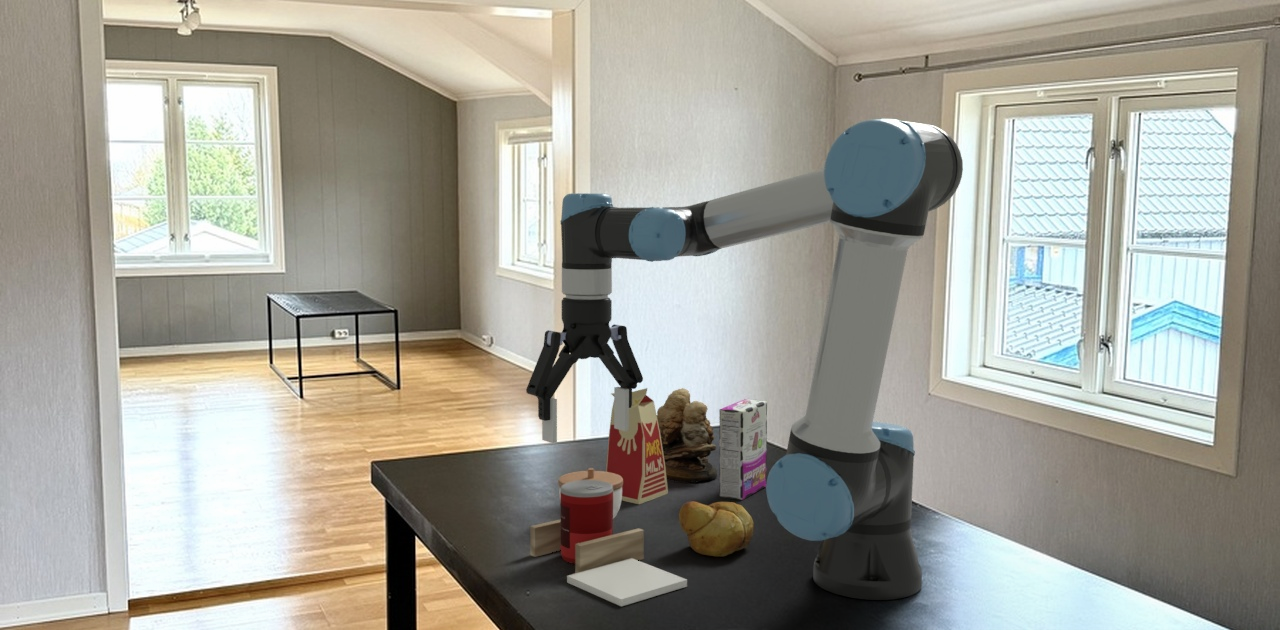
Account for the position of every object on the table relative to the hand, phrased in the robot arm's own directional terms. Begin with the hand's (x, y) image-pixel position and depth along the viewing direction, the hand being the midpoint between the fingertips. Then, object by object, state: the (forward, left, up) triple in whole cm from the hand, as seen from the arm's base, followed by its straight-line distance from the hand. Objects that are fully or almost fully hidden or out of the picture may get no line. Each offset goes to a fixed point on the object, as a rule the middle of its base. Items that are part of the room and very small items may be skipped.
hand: (586, 435), depth 173 cm
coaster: (-16, +5, -18) cm, 24 cm away
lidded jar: (+10, -9, -18) cm, 23 cm away
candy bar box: (+8, -43, -18) cm, 48 cm away
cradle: (-3, +2, -18) cm, 18 cm away
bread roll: (-12, -17, -18) cm, 28 cm away
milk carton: (+19, -26, -18) cm, 37 cm away
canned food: (-3, +2, -18) cm, 19 cm away
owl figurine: (+25, -44, -18) cm, 54 cm away
